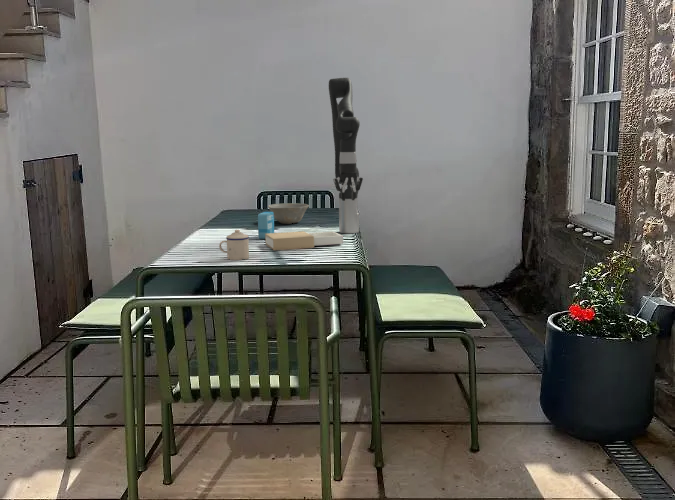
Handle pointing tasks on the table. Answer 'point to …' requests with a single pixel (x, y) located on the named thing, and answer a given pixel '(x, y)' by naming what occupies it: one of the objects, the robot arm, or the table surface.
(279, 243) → the mailer sleeve
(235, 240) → the teacup with lid
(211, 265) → the table surface
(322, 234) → the tray
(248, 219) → the table surface
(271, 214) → the data package
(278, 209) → the ceramic bowl
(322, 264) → the table surface
